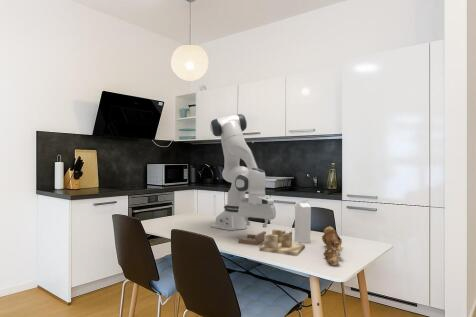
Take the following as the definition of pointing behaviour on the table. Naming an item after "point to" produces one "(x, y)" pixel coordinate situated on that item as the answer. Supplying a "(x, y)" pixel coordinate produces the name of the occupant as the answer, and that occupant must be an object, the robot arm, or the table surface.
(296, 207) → the milk
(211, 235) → the table surface
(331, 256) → the sculpture
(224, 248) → the table surface
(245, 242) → the brown u-shaped block
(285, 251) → the stand
